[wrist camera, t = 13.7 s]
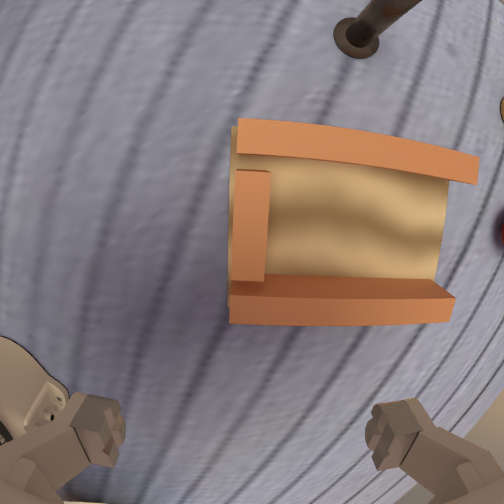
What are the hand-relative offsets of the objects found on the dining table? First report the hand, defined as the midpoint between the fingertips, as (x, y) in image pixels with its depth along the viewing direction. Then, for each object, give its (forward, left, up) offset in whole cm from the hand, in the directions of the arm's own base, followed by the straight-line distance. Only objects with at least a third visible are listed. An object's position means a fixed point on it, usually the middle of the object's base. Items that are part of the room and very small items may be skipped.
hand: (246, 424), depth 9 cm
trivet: (+2, -9, -21) cm, 23 cm away
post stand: (+20, -10, -21) cm, 31 cm away
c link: (+3, -9, -20) cm, 22 cm away
